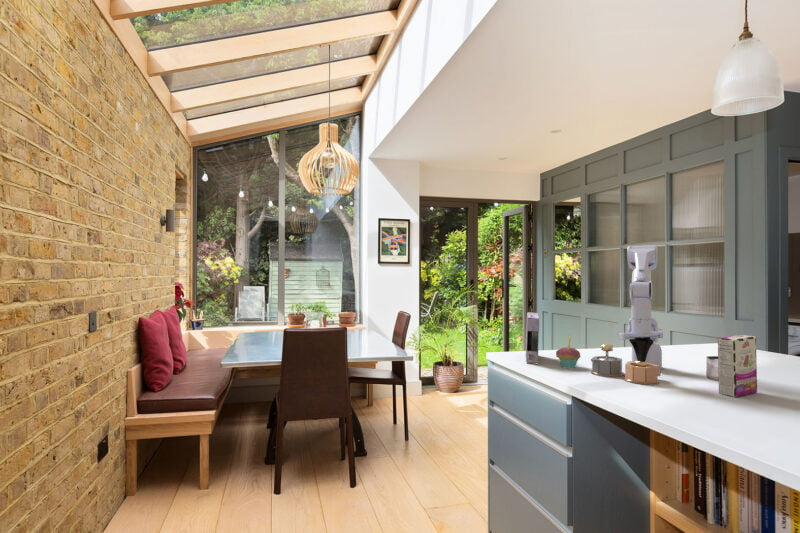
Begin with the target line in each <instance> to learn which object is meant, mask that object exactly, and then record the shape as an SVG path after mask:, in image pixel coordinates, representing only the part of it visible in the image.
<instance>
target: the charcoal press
mask: <svg viewBox="0 0 800 533" xmlns="http://www.w3.org/2000/svg"><path fill="white" fill-rule="evenodd" d="M599 358H606V355H597V356H596V355H595V356H592V358H591V359H590V362H592V363H591V366H592V368H591V369H590V373H591V375H596V376H598V377H599V376H600V377H608V378H616V377H617V378H618V377H624V375H625V372H624V371H623V359H622V358H621V357H617V356H609V355H608V358H613V359H615V360H600V359H599Z"/></svg>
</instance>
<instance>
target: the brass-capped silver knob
mask: <svg viewBox="0 0 800 533" xmlns="http://www.w3.org/2000/svg"><path fill="white" fill-rule="evenodd" d="M601 351H603V352H605V356H606V358H599V359H600V360H615V359H613V358H608V356H609V352H613V351H614V347H613V344H607V343H603V344H601Z"/></svg>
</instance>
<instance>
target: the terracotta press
mask: <svg viewBox="0 0 800 533" xmlns="http://www.w3.org/2000/svg"><path fill="white" fill-rule="evenodd" d="M624 366H625V367H624V371H625V372H624V375H625V376H623V380H624V381H625V382H627V383H631V384H635V385H636V384H637V385H647V386H649V385H658V384H660V383H661V382H660V379H658V378H659V377H661V369H660V365H655V364H651V363H648V367H638V366H635V362H632V360H631V361H627V362H626V363H625V365H624Z"/></svg>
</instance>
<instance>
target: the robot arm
mask: <svg viewBox="0 0 800 533" xmlns="http://www.w3.org/2000/svg"><path fill="white" fill-rule="evenodd" d="M658 247H659V246H658V245H657V244H654V245H653V244H652V245H651V244H647V245H630V244H629V245H628V246H627V247H626V248H627V251H626V252H627V253H626V256H627V258H626V260H627V267H628V268H629V269H630V270H632V272H631V283H630V284H629V299H630V305H631V306H630V308H631V310H630V311H631V312H630V313H631V315H630V316H631V317H630V318H629V320H628V321H627V331H626V332H619V337H618V338H619V340H623V341H626V340H628V342H629V343H630V344H631V361H632V362H635V360H637V361H640V362H645V361H648V363H651V364H655V365H660V370H661V369H662V370H663V369H664V367H663V365H662V364H663V352H662V347H661V345H660V344H659V343H657V342H659V339H663V338H664V332H663V331H659V327H658V326H659V325H658V321H657V320H656V319H655V318H653V317H652V299H653V283H652V272H651V271H654V270H655V269H657V266H658V260H659V257H658V255H659V254H658V253H659V252H658V251H659V250H658Z"/></svg>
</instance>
